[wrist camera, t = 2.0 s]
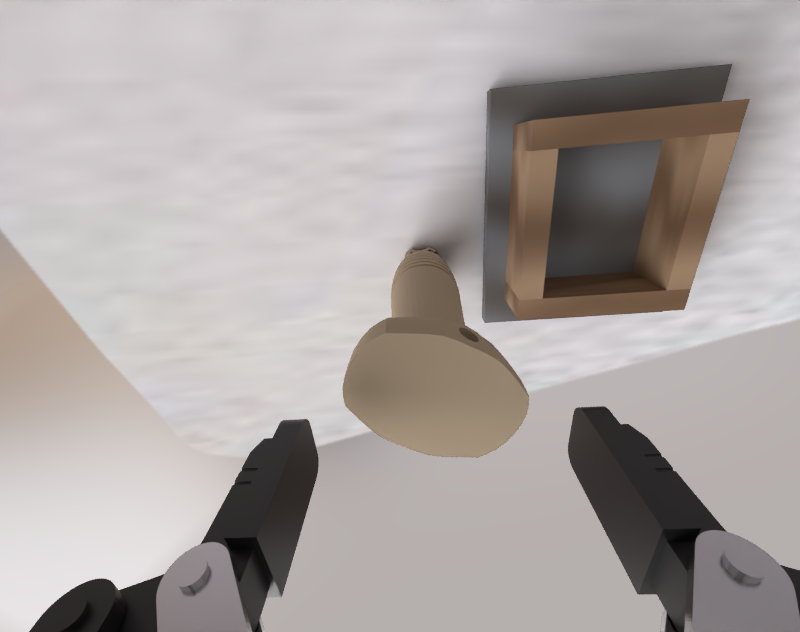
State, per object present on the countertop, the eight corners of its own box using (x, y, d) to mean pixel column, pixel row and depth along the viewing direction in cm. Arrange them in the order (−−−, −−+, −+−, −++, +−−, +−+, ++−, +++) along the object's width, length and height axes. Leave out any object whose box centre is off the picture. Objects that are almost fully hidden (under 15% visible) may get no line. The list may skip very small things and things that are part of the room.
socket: (487, 91, 20) (506, 77, 16) (717, 67, 19) (797, 46, 15) (482, 316, 27) (494, 346, 23) (653, 305, 26) (698, 334, 22)
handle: (396, 216, 24) (380, 305, 10) (476, 256, 25) (556, 385, 11) (368, 275, 26) (323, 416, 12) (443, 310, 27) (478, 474, 13)
